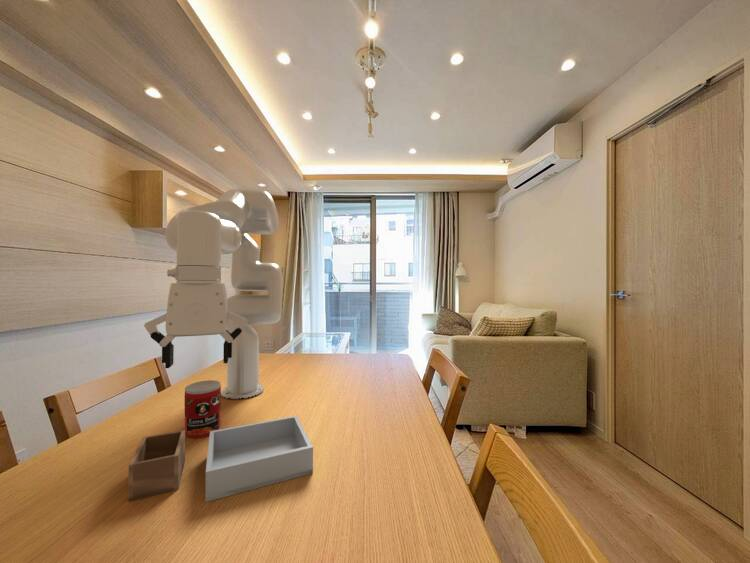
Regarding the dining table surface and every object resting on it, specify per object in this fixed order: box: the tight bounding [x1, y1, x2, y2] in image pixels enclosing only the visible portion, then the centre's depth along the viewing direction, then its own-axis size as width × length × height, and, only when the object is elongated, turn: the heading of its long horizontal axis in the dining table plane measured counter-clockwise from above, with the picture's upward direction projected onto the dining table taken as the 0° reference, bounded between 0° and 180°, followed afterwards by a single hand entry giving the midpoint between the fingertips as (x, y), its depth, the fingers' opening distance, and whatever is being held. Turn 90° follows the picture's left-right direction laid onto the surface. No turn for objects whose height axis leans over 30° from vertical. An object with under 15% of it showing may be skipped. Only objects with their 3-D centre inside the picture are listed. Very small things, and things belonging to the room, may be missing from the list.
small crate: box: [127, 429, 186, 502], centre depth 57 cm, size 10×7×6 cm
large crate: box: [205, 415, 314, 503], centre depth 62 cm, size 15×18×5 cm
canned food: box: [184, 379, 222, 439], centre depth 75 cm, size 8×8×11 cm
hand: (198, 364), depth 60 cm, fingers open, 9 cm apart
